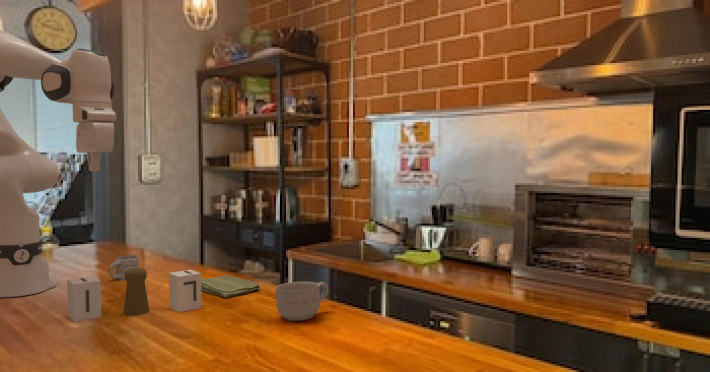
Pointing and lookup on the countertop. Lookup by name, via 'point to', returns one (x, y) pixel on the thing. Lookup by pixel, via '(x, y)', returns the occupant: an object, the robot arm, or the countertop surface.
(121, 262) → the mug
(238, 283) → the washcloth
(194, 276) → the cream marked block
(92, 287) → the grey marked block
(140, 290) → the dark brown tapered piece
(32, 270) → the robot arm
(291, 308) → the teacup
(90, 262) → the countertop surface
